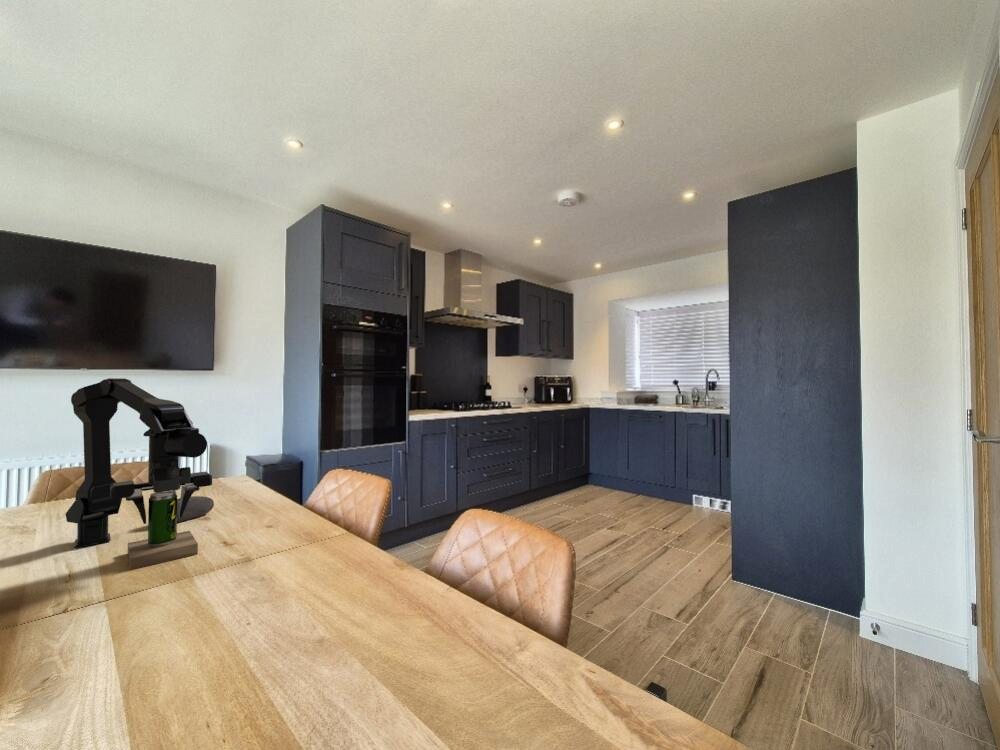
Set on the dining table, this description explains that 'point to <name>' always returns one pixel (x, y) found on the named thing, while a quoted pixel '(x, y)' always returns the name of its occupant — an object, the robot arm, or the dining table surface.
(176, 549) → the walnut block
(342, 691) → the dining table surface
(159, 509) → the beer can
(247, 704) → the dining table surface
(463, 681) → the dining table surface
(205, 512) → the perforated stone tool
